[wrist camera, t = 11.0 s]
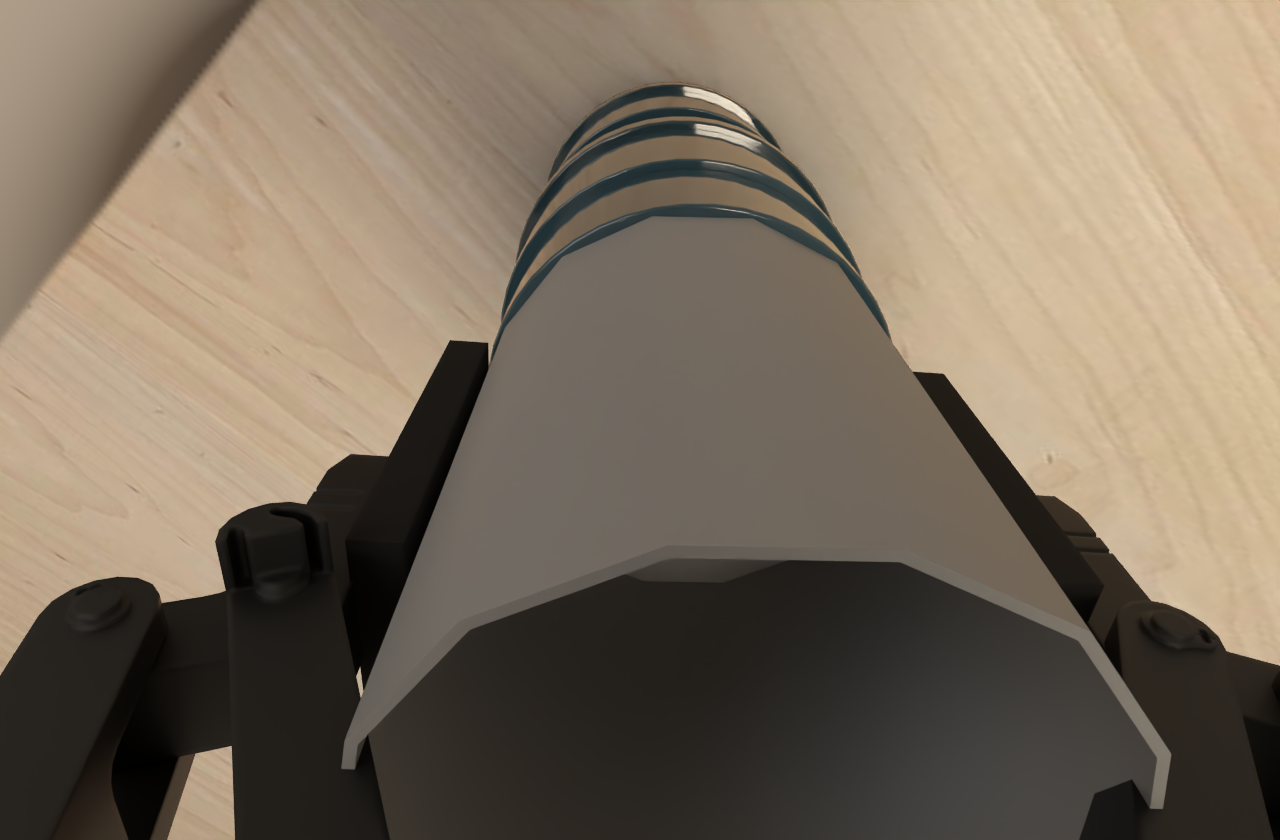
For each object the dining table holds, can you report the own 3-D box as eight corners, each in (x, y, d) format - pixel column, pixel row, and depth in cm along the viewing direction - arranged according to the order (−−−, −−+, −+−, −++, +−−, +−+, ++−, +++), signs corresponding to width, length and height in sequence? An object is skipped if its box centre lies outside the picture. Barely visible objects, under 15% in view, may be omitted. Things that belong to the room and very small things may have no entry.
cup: (928, 222, 15) (1320, 556, 6) (860, 570, 19) (1047, 1073, 10) (475, 211, 15) (246, 536, 6) (501, 563, 19) (382, 1065, 10)
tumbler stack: (548, 71, 29) (459, 162, 15) (811, 92, 29) (970, 201, 15) (544, 319, 33) (472, 572, 19) (772, 335, 34) (865, 594, 20)
